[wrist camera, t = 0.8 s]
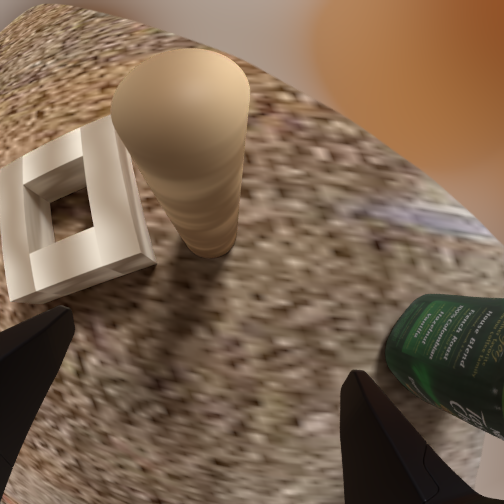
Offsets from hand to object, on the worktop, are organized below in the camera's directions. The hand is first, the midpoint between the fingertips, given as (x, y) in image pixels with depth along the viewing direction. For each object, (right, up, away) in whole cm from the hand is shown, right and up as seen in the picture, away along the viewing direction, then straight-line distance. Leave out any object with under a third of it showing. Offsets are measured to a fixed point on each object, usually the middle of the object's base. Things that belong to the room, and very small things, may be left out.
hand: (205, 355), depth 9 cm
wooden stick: (-2, +5, +15) cm, 15 cm away
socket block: (-13, +6, +14) cm, 20 cm away
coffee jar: (+16, -5, +14) cm, 22 cm away
